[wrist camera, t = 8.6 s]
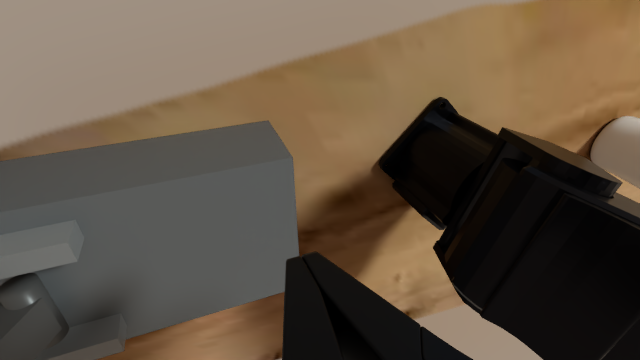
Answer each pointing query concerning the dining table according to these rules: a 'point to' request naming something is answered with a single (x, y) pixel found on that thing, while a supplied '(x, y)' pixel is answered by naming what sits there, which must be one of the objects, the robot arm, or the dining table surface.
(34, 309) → the lever
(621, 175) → the drinking glass
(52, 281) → the base
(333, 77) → the dining table surface
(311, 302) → the robot arm
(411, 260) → the dining table surface
